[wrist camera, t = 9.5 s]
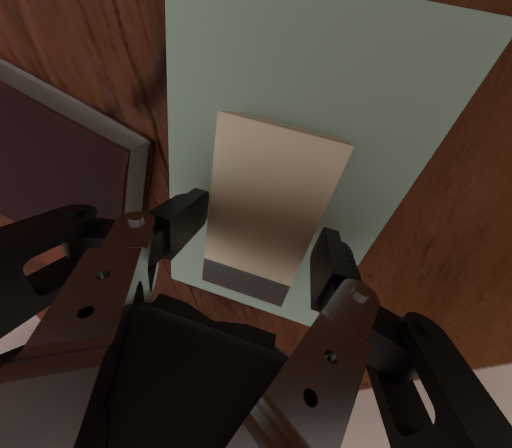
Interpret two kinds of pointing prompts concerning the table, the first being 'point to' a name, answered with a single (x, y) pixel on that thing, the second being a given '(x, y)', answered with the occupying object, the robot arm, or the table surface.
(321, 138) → the cream rectangular block
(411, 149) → the rubber mat
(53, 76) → the table surface
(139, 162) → the book
